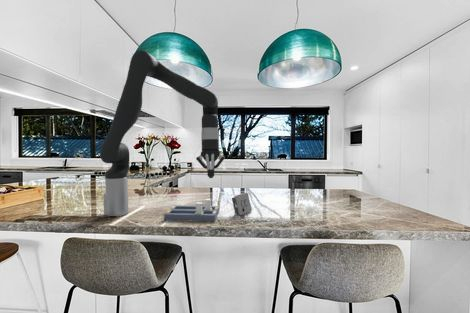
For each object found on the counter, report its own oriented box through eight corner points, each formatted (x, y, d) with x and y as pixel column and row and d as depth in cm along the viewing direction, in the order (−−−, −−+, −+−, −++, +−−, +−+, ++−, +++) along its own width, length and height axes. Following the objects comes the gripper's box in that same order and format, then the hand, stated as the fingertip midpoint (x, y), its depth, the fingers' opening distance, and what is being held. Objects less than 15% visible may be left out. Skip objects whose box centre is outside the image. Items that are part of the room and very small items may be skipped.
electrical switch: (240, 216, 104) (239, 195, 104) (231, 215, 107) (230, 195, 107) (252, 211, 111) (250, 192, 111) (243, 210, 115) (242, 192, 115)
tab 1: (194, 216, 100) (194, 203, 99) (196, 213, 103) (196, 201, 103) (202, 216, 99) (202, 204, 99) (203, 214, 103) (203, 202, 102)
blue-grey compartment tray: (164, 220, 98) (164, 213, 98) (174, 210, 112) (174, 205, 112) (214, 221, 97) (214, 214, 97) (219, 211, 111) (219, 205, 111)
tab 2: (203, 212, 106) (203, 200, 105) (205, 209, 109) (205, 198, 109) (211, 212, 106) (211, 200, 105) (212, 210, 109) (212, 198, 109)
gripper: (193, 138, 97) (194, 179, 97) (224, 138, 96) (225, 179, 97) (197, 139, 104) (198, 176, 105) (225, 138, 103) (226, 176, 104)
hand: (211, 177), depth 101 cm, fingers closed
